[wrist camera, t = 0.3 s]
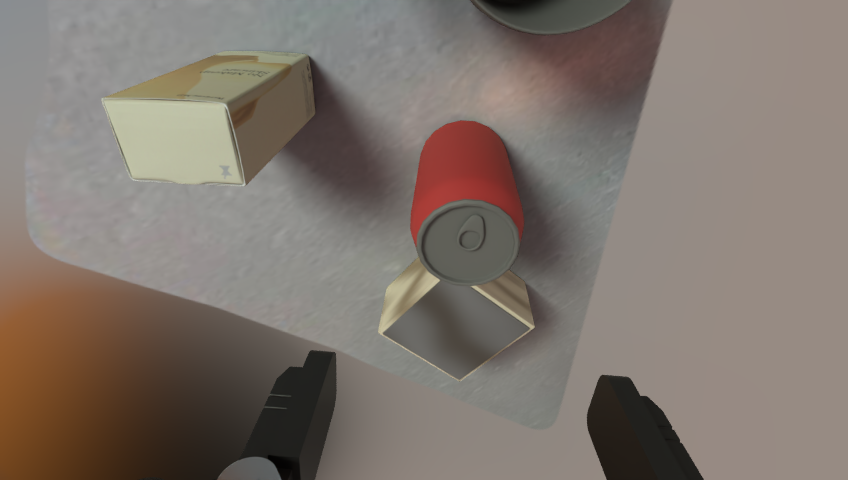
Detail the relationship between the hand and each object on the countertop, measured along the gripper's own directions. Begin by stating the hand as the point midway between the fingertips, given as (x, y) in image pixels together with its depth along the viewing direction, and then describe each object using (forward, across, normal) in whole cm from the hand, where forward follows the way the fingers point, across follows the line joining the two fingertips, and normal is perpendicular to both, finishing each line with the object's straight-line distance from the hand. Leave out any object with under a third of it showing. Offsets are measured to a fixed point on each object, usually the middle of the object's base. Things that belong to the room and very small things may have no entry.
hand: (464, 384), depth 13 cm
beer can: (+23, -1, -1) cm, 23 cm away
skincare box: (+22, +13, -5) cm, 27 cm away
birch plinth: (+24, -2, +11) cm, 27 cm away
